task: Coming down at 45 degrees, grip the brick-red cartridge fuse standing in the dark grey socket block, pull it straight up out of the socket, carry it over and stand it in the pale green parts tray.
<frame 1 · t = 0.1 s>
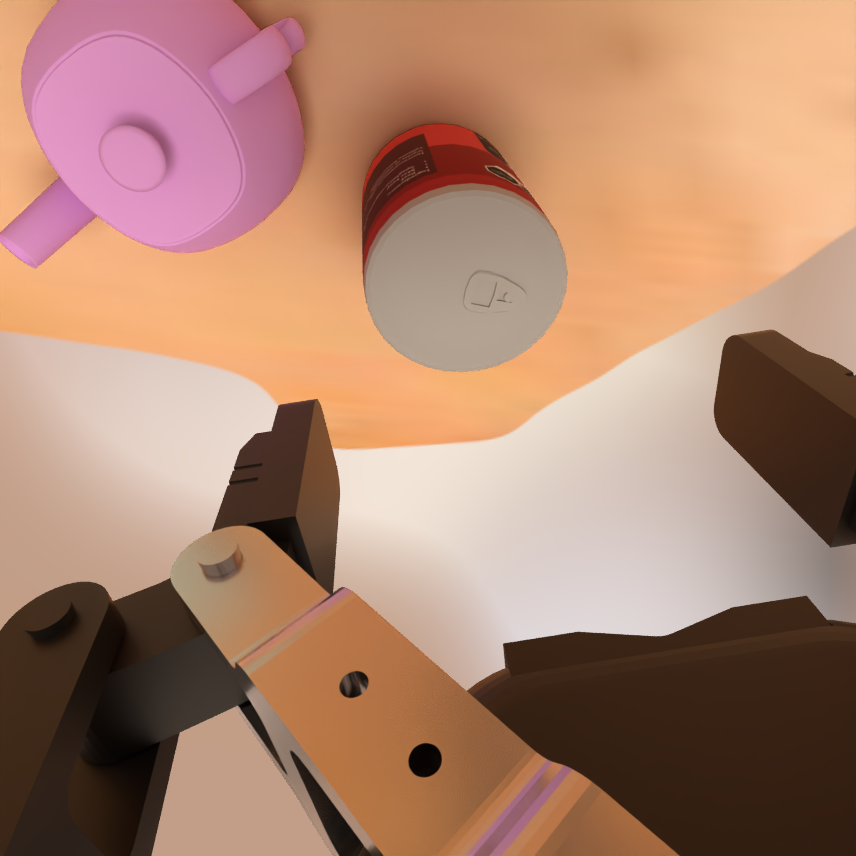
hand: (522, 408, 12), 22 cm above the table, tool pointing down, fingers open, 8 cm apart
canned food: (436, 198, 31), on the table
teapot: (177, 116, 27), on the table
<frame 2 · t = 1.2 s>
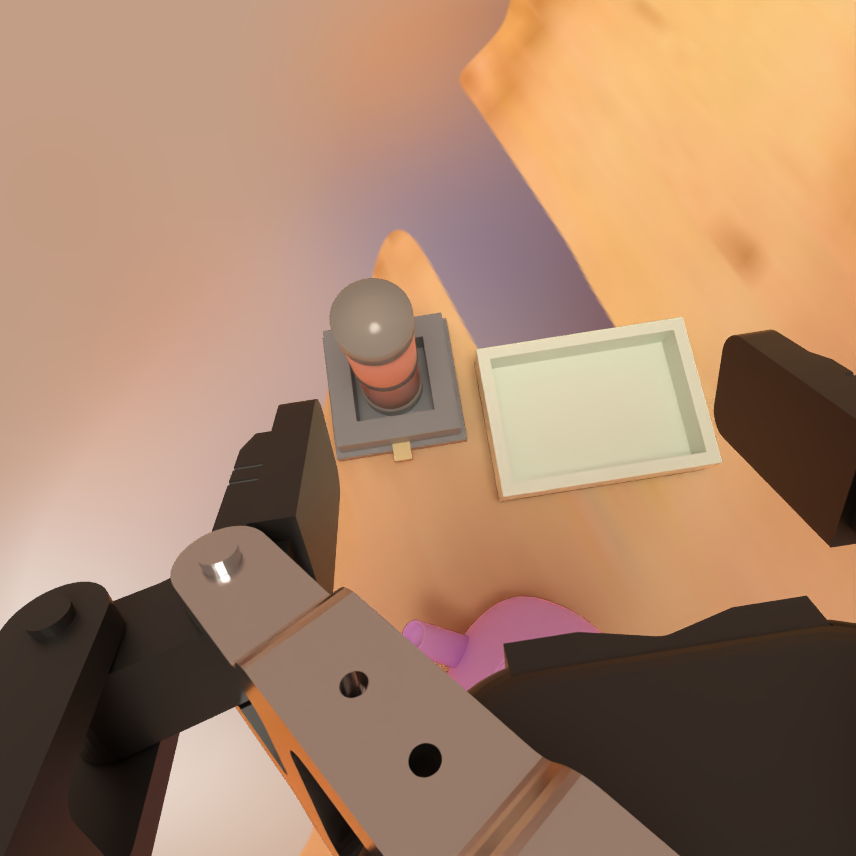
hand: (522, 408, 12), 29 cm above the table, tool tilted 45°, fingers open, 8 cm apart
parts tray: (585, 415, 41), on the table
socket block: (394, 390, 42), on the table
fuse: (393, 387, 41), point 1 cm above the table, touching socket block
teapot: (514, 674, 37), on the table
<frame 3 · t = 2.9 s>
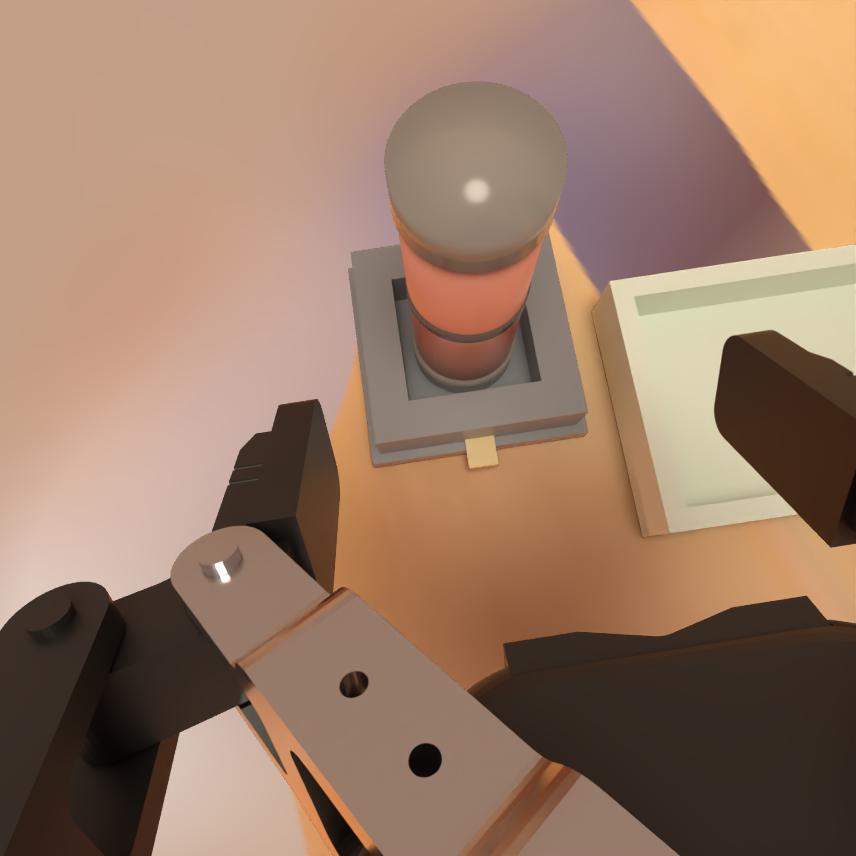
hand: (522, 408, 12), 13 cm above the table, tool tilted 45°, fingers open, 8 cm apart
parts tray: (777, 395, 25), on the table
socket block: (462, 353, 26), on the table
fuse: (463, 347, 25), point 1 cm above the table, touching socket block
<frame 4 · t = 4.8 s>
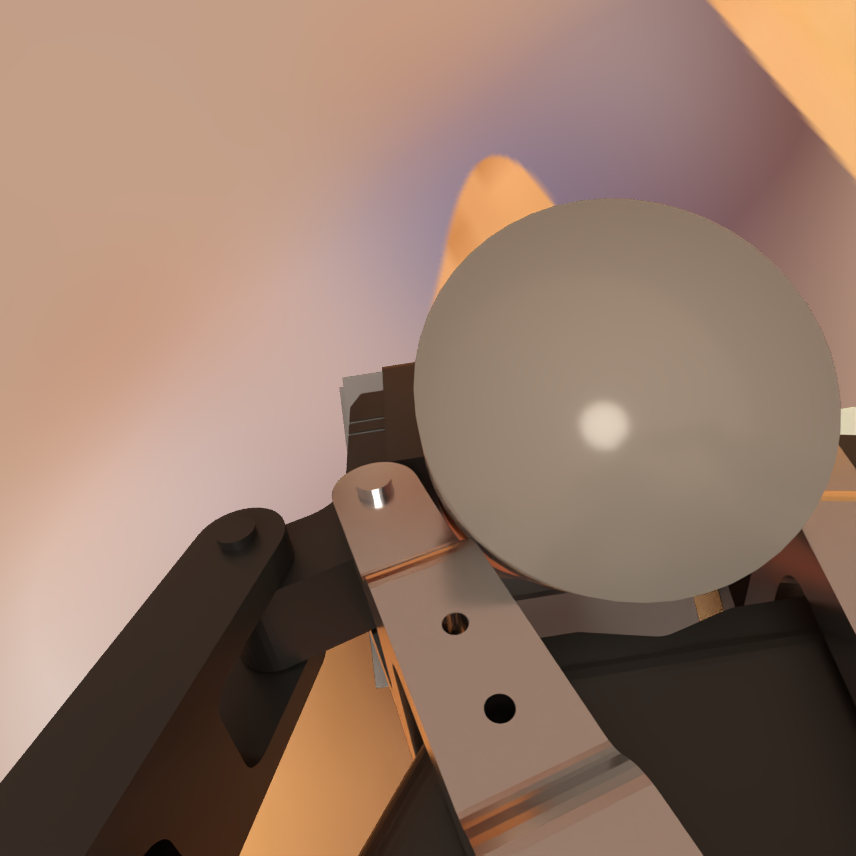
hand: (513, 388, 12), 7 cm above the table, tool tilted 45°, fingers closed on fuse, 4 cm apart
socket block: (502, 508, 18), on the table
fuse: (504, 505, 17), point 1 cm above the table, touching gripper, socket block
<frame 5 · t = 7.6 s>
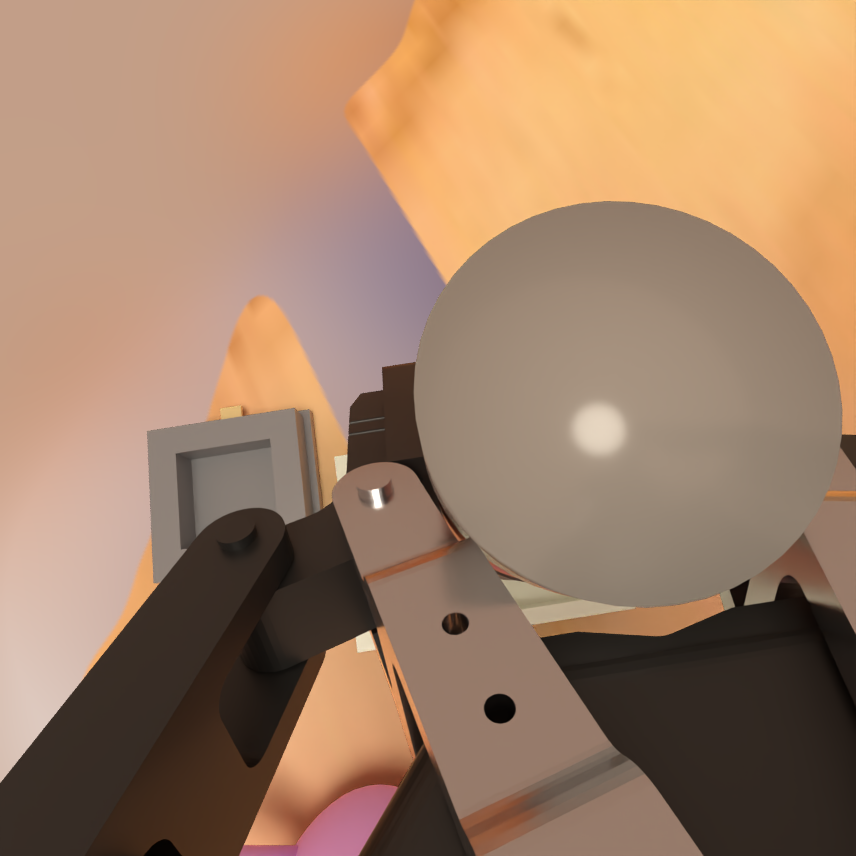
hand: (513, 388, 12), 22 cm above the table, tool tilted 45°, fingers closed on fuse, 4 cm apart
parts tray: (476, 532, 33), on the table
socket block: (244, 498, 34), on the table
fuse: (504, 507, 17), point 16 cm above the table, touching gripper
when the fingers open (8 cm above the table, at t = 10.4 s): fuse drops 1 cm, resting on parts tray.
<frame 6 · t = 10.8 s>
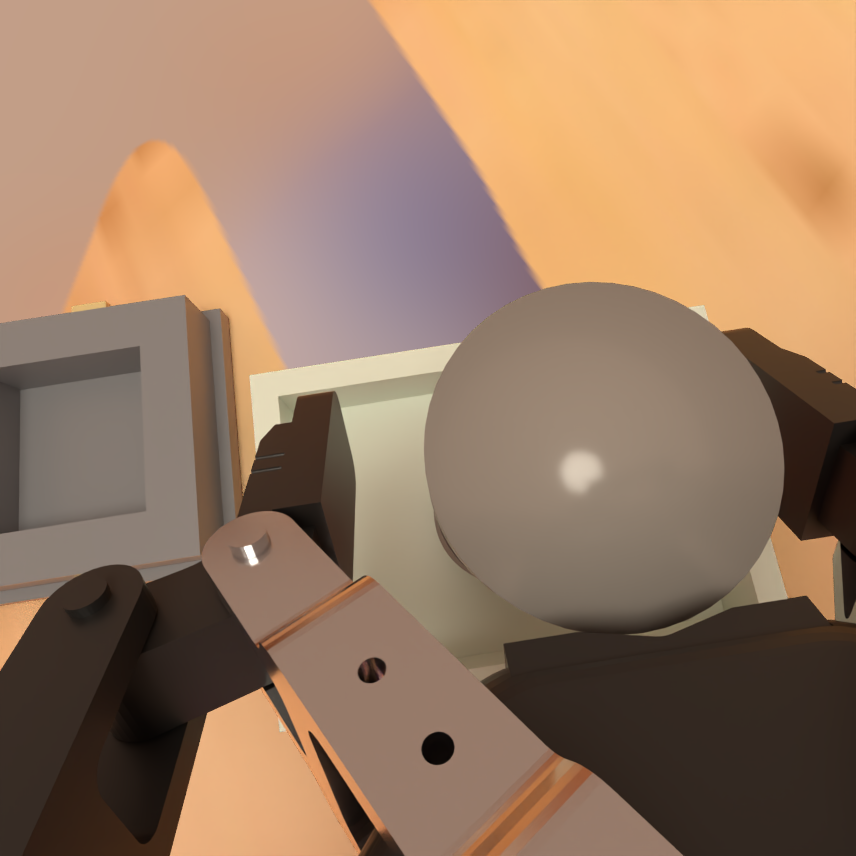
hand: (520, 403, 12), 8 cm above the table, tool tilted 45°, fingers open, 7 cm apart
parts tray: (497, 512, 19), on the table
socket block: (109, 455, 20), on the table
fuse: (499, 513, 19), point 1 cm above the table, touching parts tray
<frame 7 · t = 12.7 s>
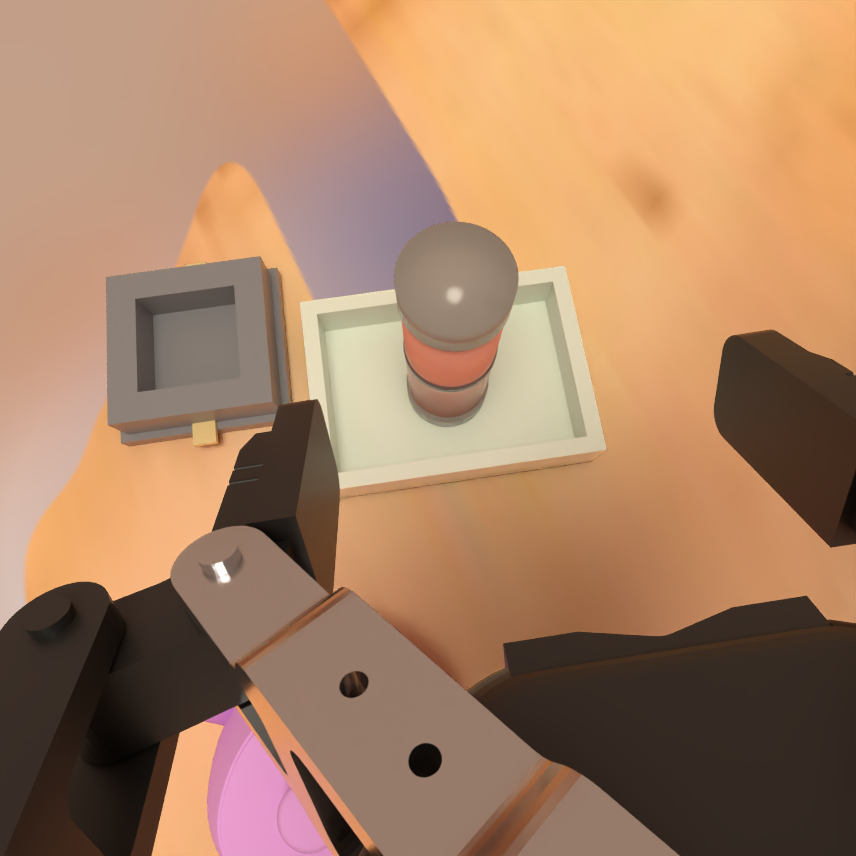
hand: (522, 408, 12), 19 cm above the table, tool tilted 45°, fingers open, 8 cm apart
parts tray: (446, 391, 32), on the table
socket block: (207, 357, 33), on the table
fuse: (446, 389, 31), point 1 cm above the table, touching parts tray
teapot: (334, 727, 28), on the table
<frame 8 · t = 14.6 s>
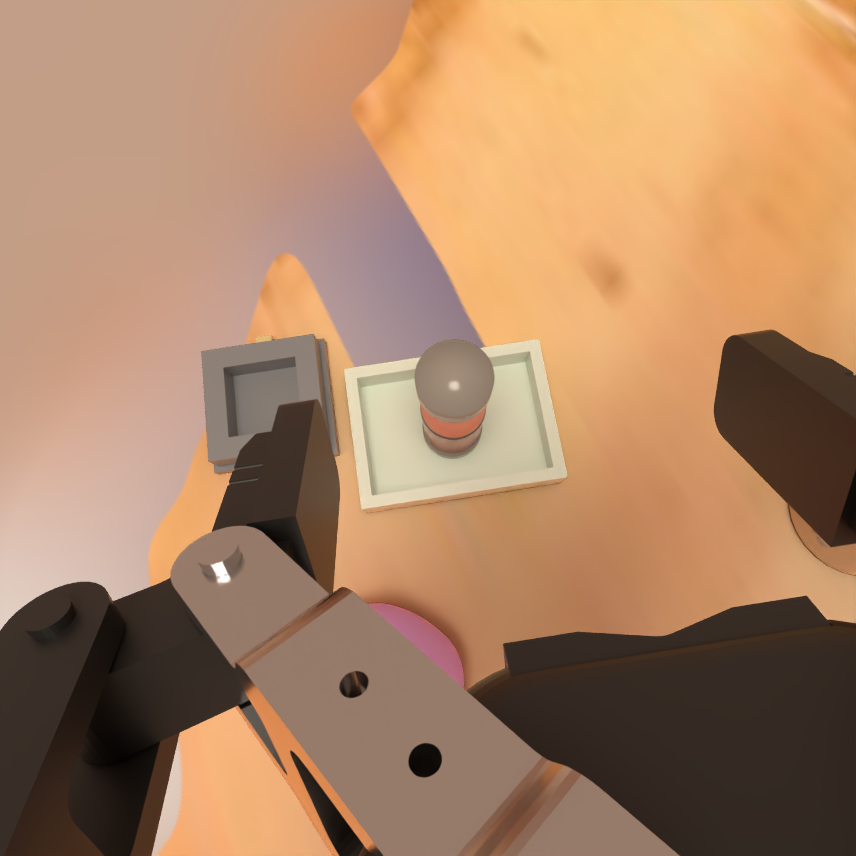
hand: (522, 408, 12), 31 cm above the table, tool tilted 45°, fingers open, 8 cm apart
parts tray: (452, 431, 43), on the table
socket block: (273, 406, 44), on the table
fuse: (452, 430, 42), point 1 cm above the table, touching parts tray
teapot: (373, 676, 39), on the table
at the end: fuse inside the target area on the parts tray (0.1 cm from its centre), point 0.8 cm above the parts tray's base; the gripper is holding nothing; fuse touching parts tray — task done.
